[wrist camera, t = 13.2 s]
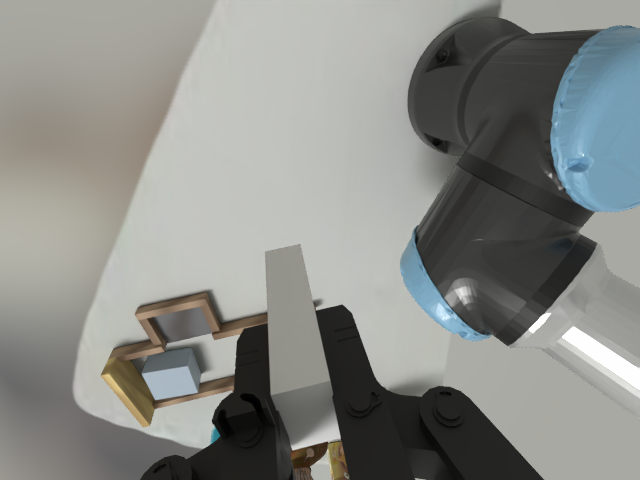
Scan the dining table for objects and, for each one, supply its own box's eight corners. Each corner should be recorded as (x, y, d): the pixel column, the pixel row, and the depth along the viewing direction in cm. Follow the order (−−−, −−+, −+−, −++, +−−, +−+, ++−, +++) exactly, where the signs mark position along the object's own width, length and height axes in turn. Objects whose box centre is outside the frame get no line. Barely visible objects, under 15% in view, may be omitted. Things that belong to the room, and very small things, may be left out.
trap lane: (307, 269, 50) (311, 290, 46) (330, 380, 65) (335, 403, 61) (90, 318, 48) (74, 344, 44) (166, 420, 63) (159, 447, 59)
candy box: (326, 451, 80) (340, 530, 67) (326, 442, 77) (341, 522, 64) (361, 445, 81) (381, 521, 68) (362, 436, 79) (383, 513, 66)
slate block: (191, 346, 55) (187, 366, 52) (201, 372, 59) (198, 392, 55) (148, 353, 54) (141, 373, 51) (161, 379, 58) (155, 400, 54)
